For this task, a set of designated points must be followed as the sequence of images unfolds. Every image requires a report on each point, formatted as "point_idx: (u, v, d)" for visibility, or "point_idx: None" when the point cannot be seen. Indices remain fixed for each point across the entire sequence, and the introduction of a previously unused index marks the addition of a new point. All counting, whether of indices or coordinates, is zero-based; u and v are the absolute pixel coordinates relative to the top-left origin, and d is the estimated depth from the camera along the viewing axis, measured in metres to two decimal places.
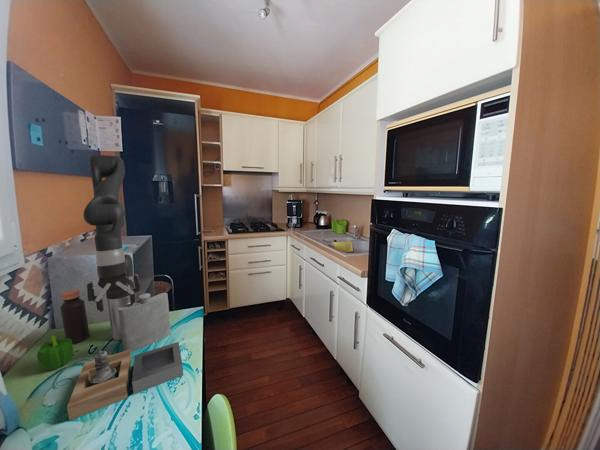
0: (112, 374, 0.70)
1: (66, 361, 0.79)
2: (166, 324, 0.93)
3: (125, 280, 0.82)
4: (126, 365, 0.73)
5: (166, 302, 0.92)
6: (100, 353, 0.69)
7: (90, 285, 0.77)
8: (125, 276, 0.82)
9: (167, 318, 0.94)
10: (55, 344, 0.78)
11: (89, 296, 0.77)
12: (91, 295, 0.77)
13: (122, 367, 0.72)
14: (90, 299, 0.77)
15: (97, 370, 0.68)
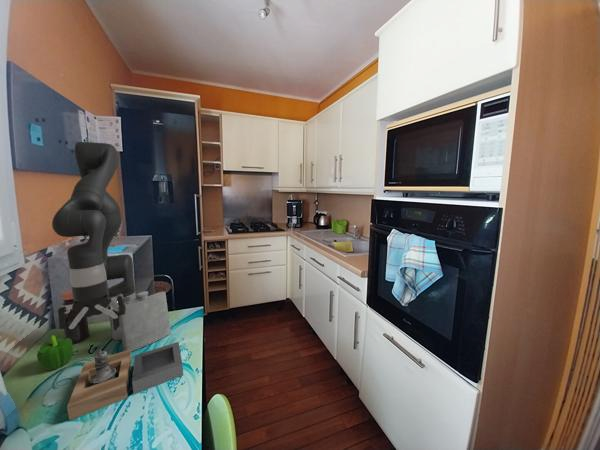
0: (112, 374, 0.70)
1: (66, 361, 0.79)
2: (165, 323, 0.94)
3: (107, 302, 0.68)
4: (126, 365, 0.73)
5: (164, 300, 0.94)
6: (100, 353, 0.69)
7: (62, 310, 0.62)
8: (107, 297, 0.68)
9: (166, 317, 0.94)
10: (55, 344, 0.78)
11: (61, 323, 0.63)
12: (64, 322, 0.63)
13: (122, 367, 0.72)
14: (62, 326, 0.63)
15: (97, 370, 0.68)
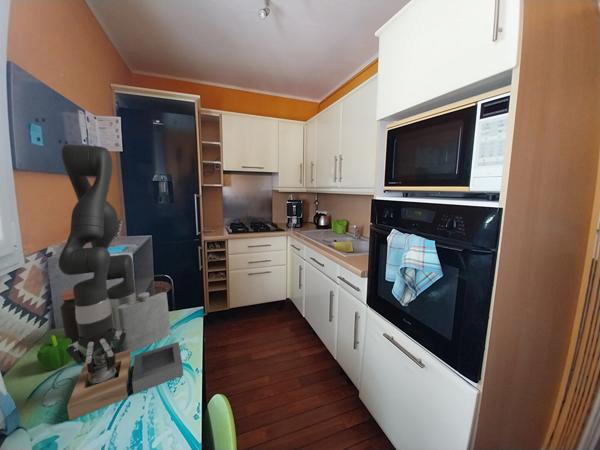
0: (112, 374, 0.70)
1: (66, 361, 0.79)
2: (165, 324, 0.94)
3: (110, 336, 0.69)
4: (126, 365, 0.73)
5: (165, 301, 0.93)
6: (100, 353, 0.69)
7: (70, 349, 0.64)
8: (111, 331, 0.69)
9: (167, 318, 0.94)
10: (55, 344, 0.78)
11: (76, 359, 0.65)
12: (78, 358, 0.65)
13: (122, 367, 0.72)
14: (80, 362, 0.66)
15: (97, 370, 0.68)
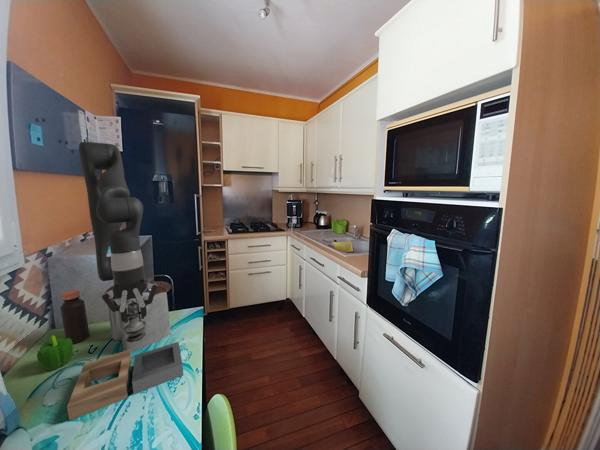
0: (143, 325, 0.71)
1: (66, 361, 0.79)
2: (165, 324, 0.94)
3: (143, 287, 0.70)
4: (126, 365, 0.73)
5: (165, 301, 0.93)
6: (133, 303, 0.70)
7: (105, 296, 0.66)
8: (143, 282, 0.70)
9: (167, 318, 0.94)
10: (55, 344, 0.78)
11: (111, 307, 0.67)
12: (113, 305, 0.67)
13: (122, 367, 0.72)
14: (114, 309, 0.67)
15: (130, 320, 0.70)
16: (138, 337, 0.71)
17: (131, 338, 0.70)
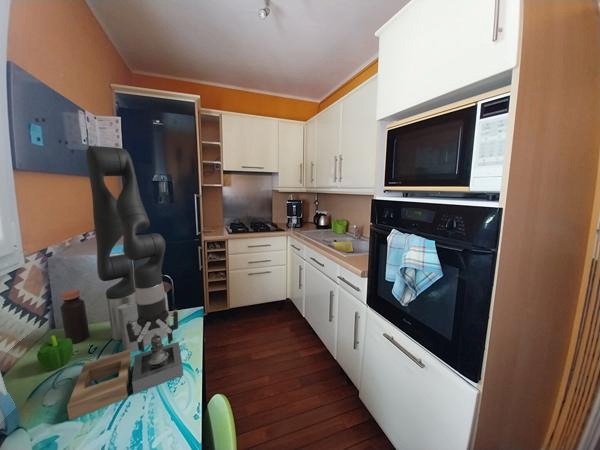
0: (166, 357, 0.76)
1: (66, 361, 0.79)
2: None
3: (165, 317, 0.74)
4: (126, 365, 0.73)
5: None
6: (156, 337, 0.74)
7: (129, 326, 0.69)
8: (165, 312, 0.74)
9: (167, 318, 0.94)
10: (55, 344, 0.78)
11: (130, 337, 0.70)
12: (132, 336, 0.70)
13: (122, 367, 0.72)
14: (132, 340, 0.70)
15: (153, 353, 0.74)
16: None
17: (154, 369, 0.75)
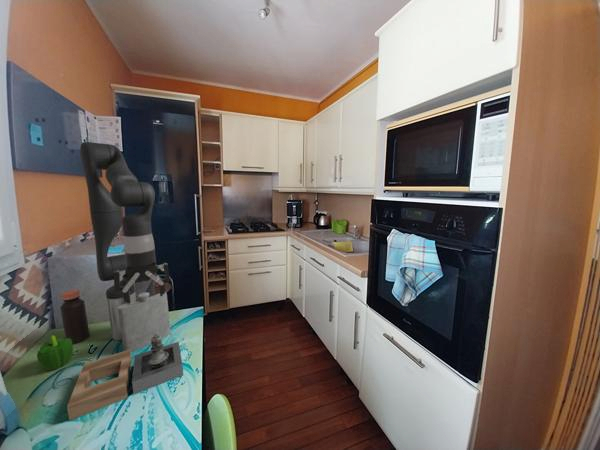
0: (166, 357, 0.76)
1: (66, 361, 0.79)
2: (165, 324, 0.94)
3: (155, 269, 0.73)
4: (126, 365, 0.73)
5: (165, 301, 0.93)
6: (156, 337, 0.74)
7: (117, 274, 0.68)
8: (155, 265, 0.73)
9: (167, 318, 0.94)
10: (55, 344, 0.78)
11: (116, 286, 0.68)
12: (118, 285, 0.68)
13: (122, 367, 0.72)
14: (117, 290, 0.68)
15: (153, 352, 0.74)
16: None
17: (154, 369, 0.75)
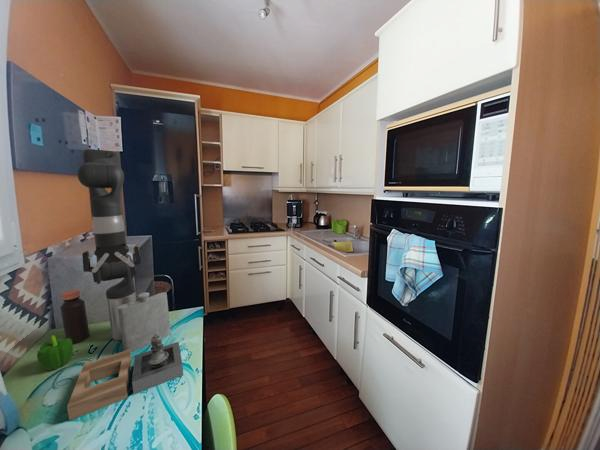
0: (166, 357, 0.76)
1: (66, 361, 0.79)
2: (165, 324, 0.94)
3: (125, 251, 0.74)
4: (126, 365, 0.73)
5: (165, 301, 0.93)
6: (156, 337, 0.74)
7: (86, 254, 0.69)
8: (125, 246, 0.74)
9: (167, 318, 0.94)
10: (55, 344, 0.78)
11: (85, 266, 0.69)
12: (87, 265, 0.69)
13: (122, 367, 0.72)
14: (86, 270, 0.69)
15: (153, 352, 0.74)
16: None
17: (154, 369, 0.75)
